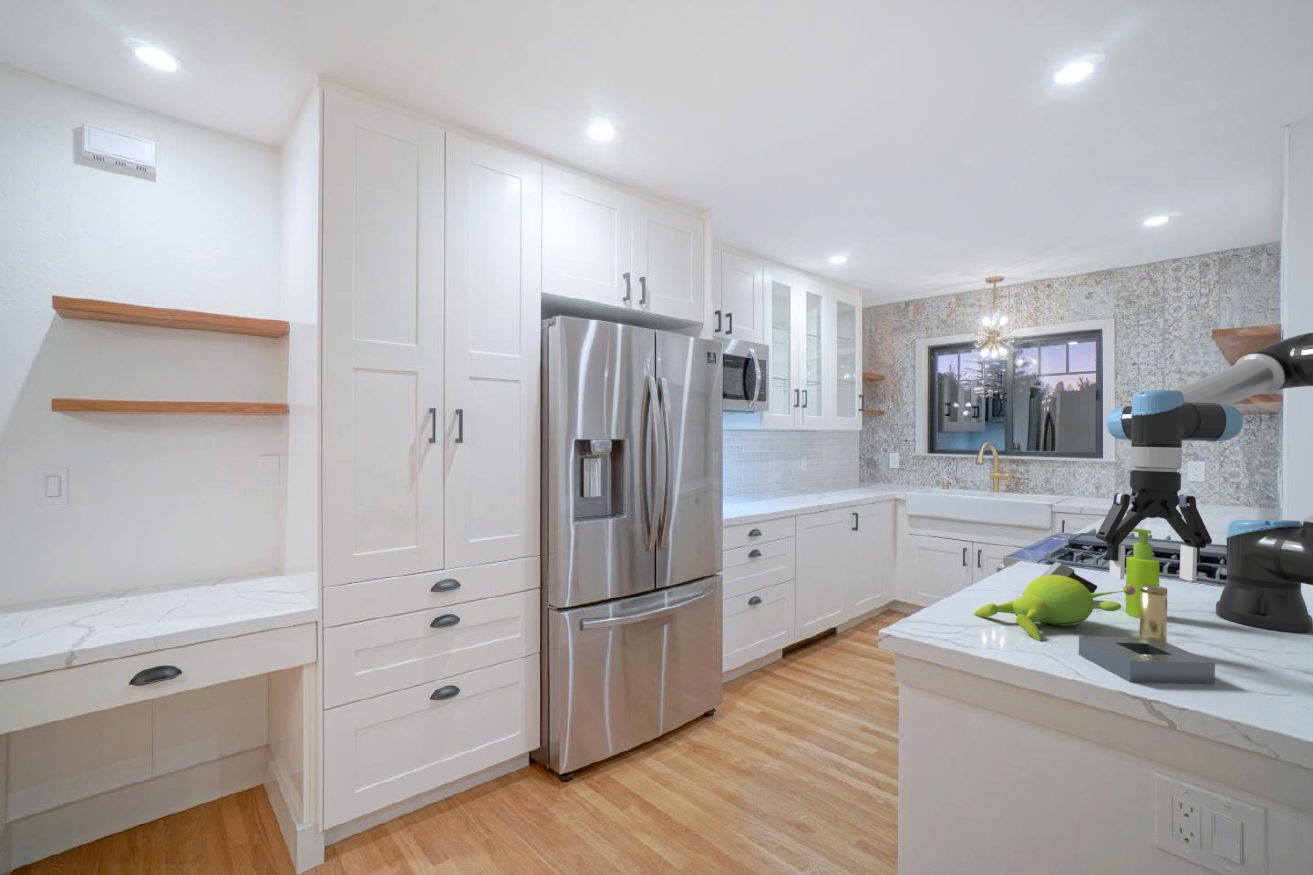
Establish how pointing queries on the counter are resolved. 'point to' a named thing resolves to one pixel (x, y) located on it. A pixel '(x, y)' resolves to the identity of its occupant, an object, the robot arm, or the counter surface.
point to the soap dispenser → (1140, 571)
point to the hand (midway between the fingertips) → (1152, 578)
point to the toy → (1052, 603)
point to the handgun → (1069, 575)
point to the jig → (1146, 660)
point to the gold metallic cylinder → (1153, 612)
